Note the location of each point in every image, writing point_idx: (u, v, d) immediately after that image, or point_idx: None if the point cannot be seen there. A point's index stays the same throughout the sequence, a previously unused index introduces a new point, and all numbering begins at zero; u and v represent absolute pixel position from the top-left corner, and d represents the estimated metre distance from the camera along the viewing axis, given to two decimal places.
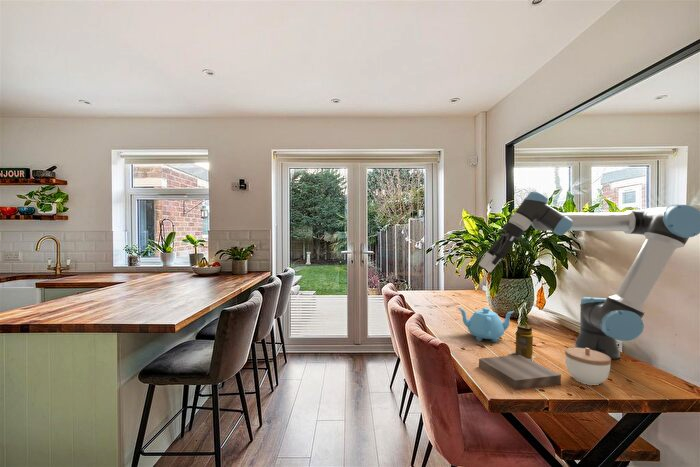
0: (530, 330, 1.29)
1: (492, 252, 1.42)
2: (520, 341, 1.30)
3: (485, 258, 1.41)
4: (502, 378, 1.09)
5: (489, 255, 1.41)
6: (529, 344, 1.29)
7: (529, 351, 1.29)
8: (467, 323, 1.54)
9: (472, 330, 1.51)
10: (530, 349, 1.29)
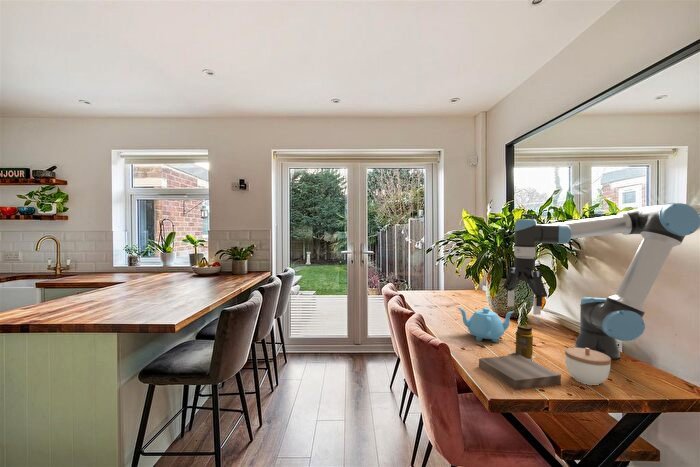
0: (530, 330, 1.29)
1: None
2: (520, 341, 1.30)
3: (510, 297, 1.37)
4: (502, 378, 1.09)
5: (511, 292, 1.37)
6: (529, 344, 1.29)
7: (529, 351, 1.29)
8: (467, 323, 1.54)
9: (472, 330, 1.51)
10: (530, 349, 1.29)
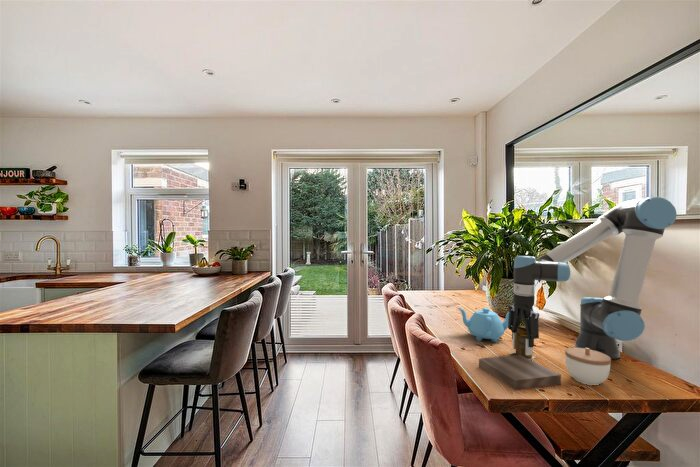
0: None
1: (516, 329, 1.35)
2: (520, 341, 1.30)
3: (515, 339, 1.34)
4: (502, 378, 1.09)
5: None
6: None
7: None
8: (467, 323, 1.54)
9: (472, 330, 1.51)
10: None
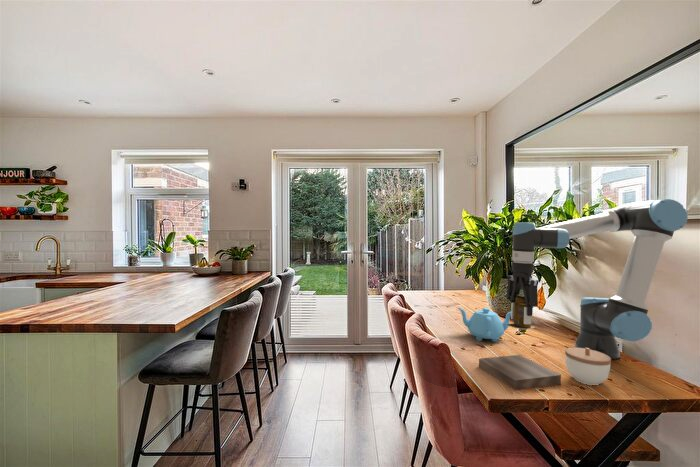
0: None
1: (514, 299, 1.31)
2: (518, 310, 1.26)
3: (513, 309, 1.30)
4: (502, 378, 1.09)
5: None
6: None
7: None
8: (467, 323, 1.54)
9: (472, 330, 1.51)
10: None
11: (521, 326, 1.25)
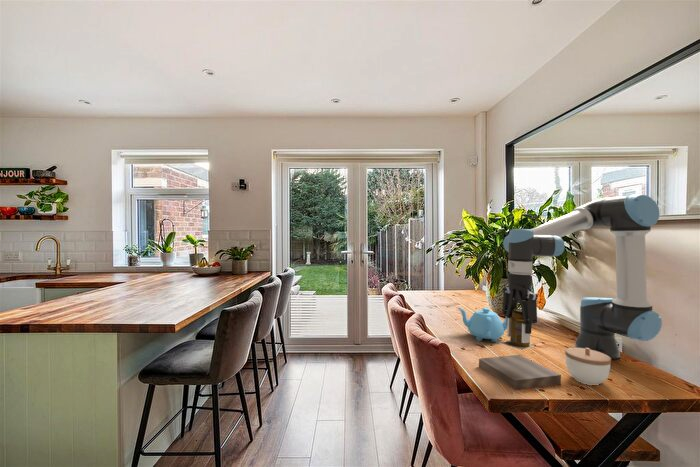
0: None
1: (511, 314, 1.18)
2: (515, 326, 1.12)
3: (510, 325, 1.17)
4: (502, 378, 1.09)
5: None
6: None
7: None
8: (467, 323, 1.54)
9: (472, 330, 1.51)
10: None
11: (519, 345, 1.12)
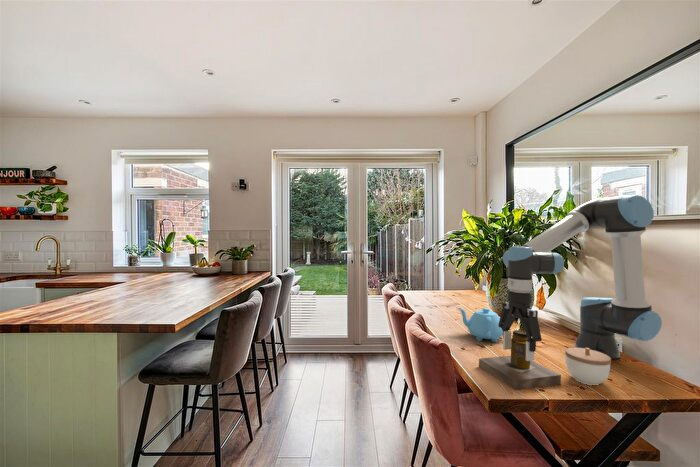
0: None
1: (507, 327, 1.20)
2: (515, 349, 1.12)
3: (506, 339, 1.19)
4: (502, 378, 1.09)
5: (507, 333, 1.19)
6: None
7: (526, 361, 1.11)
8: (467, 323, 1.54)
9: (472, 330, 1.51)
10: None
11: (519, 367, 1.12)
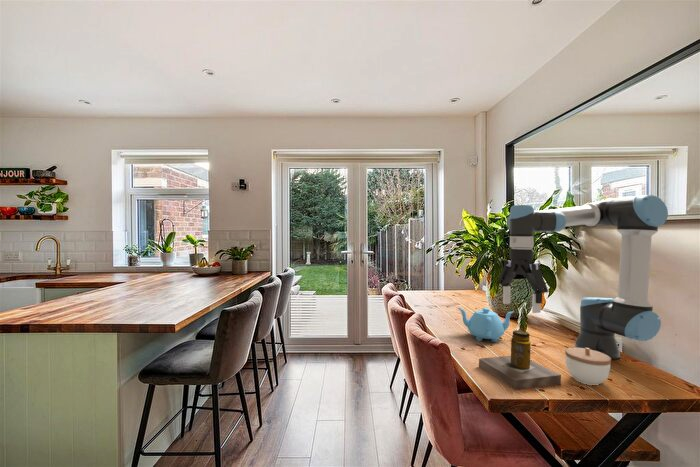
0: (527, 336, 1.12)
1: (506, 283, 1.23)
2: (515, 349, 1.12)
3: (506, 293, 1.22)
4: (502, 378, 1.09)
5: (507, 288, 1.22)
6: (526, 353, 1.11)
7: (526, 361, 1.11)
8: (467, 323, 1.54)
9: (472, 330, 1.51)
10: (527, 358, 1.11)
11: (519, 367, 1.12)
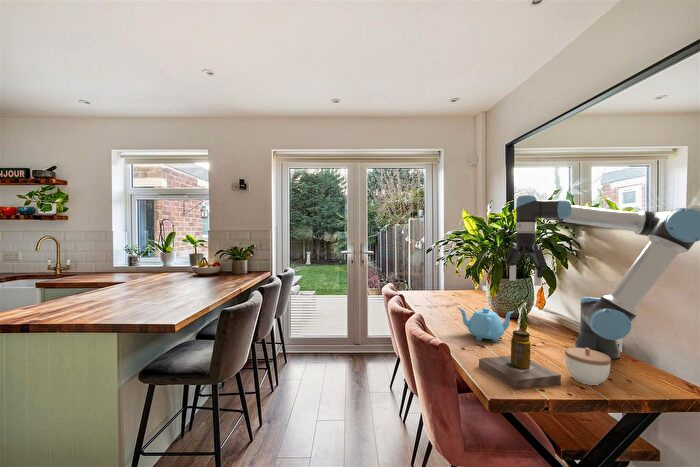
0: (527, 336, 1.12)
1: None
2: (515, 349, 1.12)
3: (512, 271, 1.43)
4: (502, 378, 1.09)
5: (513, 267, 1.43)
6: (526, 353, 1.11)
7: (526, 361, 1.11)
8: (467, 323, 1.54)
9: (472, 330, 1.51)
10: (527, 358, 1.11)
11: (519, 367, 1.12)
